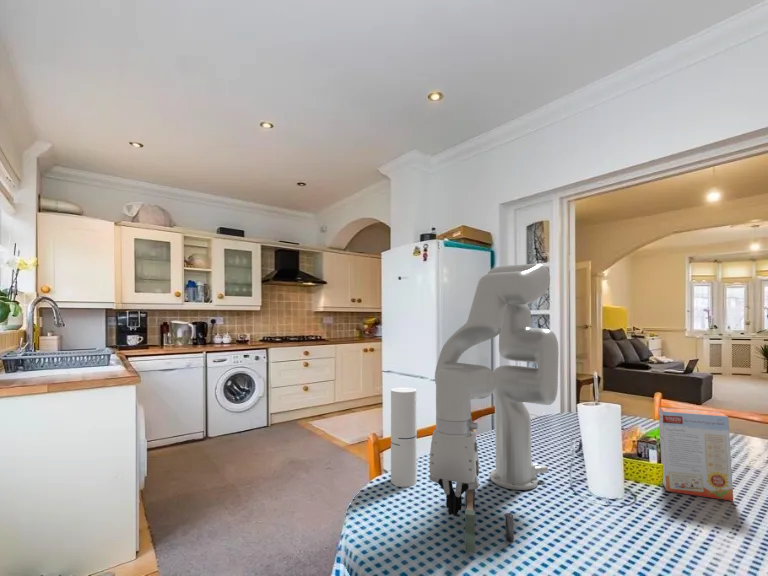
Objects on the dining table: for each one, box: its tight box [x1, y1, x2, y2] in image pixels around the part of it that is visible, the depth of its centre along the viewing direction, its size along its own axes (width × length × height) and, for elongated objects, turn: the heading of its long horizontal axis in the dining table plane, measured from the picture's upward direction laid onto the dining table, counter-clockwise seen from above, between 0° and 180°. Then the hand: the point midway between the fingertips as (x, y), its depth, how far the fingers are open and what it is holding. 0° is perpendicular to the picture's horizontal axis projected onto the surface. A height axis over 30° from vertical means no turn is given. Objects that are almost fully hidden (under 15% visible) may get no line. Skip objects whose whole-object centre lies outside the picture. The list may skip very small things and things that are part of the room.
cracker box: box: [658, 406, 734, 502], centre depth 104 cm, size 14×6×21 cm, turn 65°
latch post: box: [504, 512, 515, 544], centre depth 81 cm, size 2×2×5 cm
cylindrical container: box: [390, 386, 418, 488], centre depth 110 cm, size 7×7×25 cm
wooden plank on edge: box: [464, 489, 476, 554], centre depth 85 cm, size 19×2×7 cm, turn 168°
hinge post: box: [464, 489, 476, 509], centre depth 96 cm, size 2×2×8 cm
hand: (454, 512), depth 85 cm, fingers closed
